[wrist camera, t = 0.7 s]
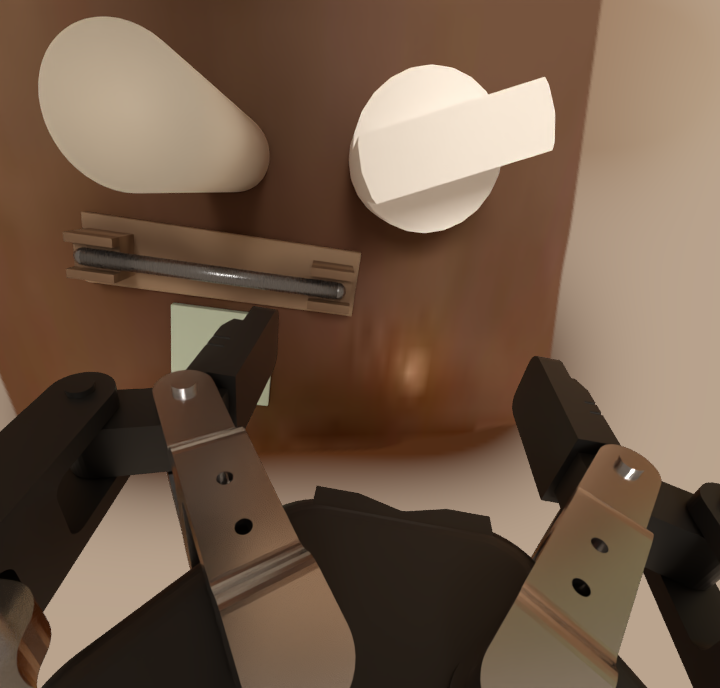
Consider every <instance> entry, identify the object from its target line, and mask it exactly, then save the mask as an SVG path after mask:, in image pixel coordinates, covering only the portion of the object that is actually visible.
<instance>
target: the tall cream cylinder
mask: <svg viewBox="0 0 720 688" xmlns="http://www.w3.org/2000/svg"><path fill="white" fill-rule="evenodd" d="M38 90H39V101H40V107H41V111H42V114H43V118H44V121H45V123H46V126H47V128H48V131H49V133H50V135H51V136H52V138H53V140H54V142H55V143H56V145H57V146H58V148H59V149H60V151H61V152H62V153H63V155H64V156H65V157H66V158H67V159H68V161H69V162H70V163H72V164H73V165H74V166H75V167H76V168H77V169H78V170H79V171H80V172H82V173H83V174H84V175H85V176H87V177H88V178H90V179H92V180H93V181H95V182H97V183H99V184H101V185H103V186H105V187H108V188H110V189H113V190H117V191H121V192H127V193H203V192H242V191H246V190H249V189H251V188H253V187H255V186H256V185H257V184H258V183H259V182H260V181H261V180H262V179H263V178H264V176H265V174H266V172H267V169H268V166H269V160H270V152H269V146H268V142H267V139H266V137H265V135H264V133H263V131H262V130H261V128H260V127H259V126H258V125H257V124H256V123H255V122H254V121H253V120H252V119H251V118H250V117H249V116H247V115H246V114H245V113H244V112H243V111H242V110H241V109H240V108H238V107H237V106H236V105H235V104H234V103H233V102H232V101H230V100H229V99H228V98H227V97H226V96H225V95H224V94H222V93H221V92H220V91H219V90H218V89H217V88H216V87H215V86H213V85H212V84H211V83H210V82H209V81H208V80H207V79H205V78H204V77H203V76H202V75H201V74H200V73H199V72H197V71H196V70H195V69H194V68H193V67H192V66H191V65H190V64H188V63H187V62H186V61H185V60H184V59H183V58H182V57H180V56H179V55H178V54H177V53H176V52H175V51H174V50H173V49H171V48H170V47H169V46H168V45H167V44H166V43H165V42H163V41H162V40H161V39H160V38H158V37H157V36H156V35H155V34H153V33H152V32H150V31H149V30H147V29H145V28H143V27H142V26H140V25H137V24H135V23H133V22H130V21H127V20H124V19H120V18H115V17H92V18H87V19H83V20H80V21H78V22H75V23H73V24H72V25H70V26H68V27H66V28H65V29H64V30H63V31H62V32H60V33H59V34H58V35H57V36H56V38H55V39H54V40H53V41H52V42H51V44H50V46H49V47H48V49H47V51H46V53H45V55H44V58H43V60H42V63H41V68H40V72H39V82H38Z"/></svg>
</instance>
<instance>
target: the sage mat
mask: <svg viewBox="0 0 720 688" xmlns="http://www.w3.org/2000/svg"><path fill="white" fill-rule="evenodd" d="M248 313H249V312H244V311H236V310H228V309H220V308H212V307H205V306H197V305H189V304H181V303H172V304H171V373H172V372H175V371H180V370H186V369H187V368H188V366H189V365H190V364H191V363H192V361H193V360H194V359H195V357H196V356H197V355H198V354H199V352H200V351H201V350H202V349H203V347H204V346H205V345H207V342H208V341H209V340H210V339H211V337H213V335H214V334H215V332H216V331H217V330H218V329H219V327H220V326H221V325H223V324H225V323H227V322H228V321H230V320H232V319H234V318H235V319H240V320H243V319H244V318H245V317H246V315H247V314H248ZM270 381H271V376H270V378H269V380H268V382H267V384H266V386H265V388H264V390H263V393H262V395H261V397H260V399H259V401H258V403H257V405H264V406H268V403H269V392H270Z"/></svg>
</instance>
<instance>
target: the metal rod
mask: <svg viewBox="0 0 720 688" xmlns="http://www.w3.org/2000/svg"><path fill="white" fill-rule="evenodd" d="M73 257H74V259H75V261H76V262H77V263H78V264H80V265H84V266H91V267H99V268H106V269H113V270H121V271H128V272H136V273H143V274H151V275H158V276H165V277H173V278H180V279H188V280H195V281H203V282H210V283H218V284H225V285H232V286H240V287H247V288H255V289H262V290H270V291H277V292H284V293H292V294H299V295H307V296H314V297H322V298H329V299H337V300H338V299H341V298H343V297H344V296H345V293H346V289H345V287H344V285H343V284H341V283H337V282H330V281H323V280H316V279H308V278H301V277H294V276H287V275H280V274H273V273H265V272H258V271H251V270H244V269H237V268H229V267H222V266H215V265H208V264H201V263H194V262H186V261H179V260H172V259H165V258H158V257H150V256H143V255H136V254H129V253H122V252H115V251H107V250H100V249H93V248H86V247H80V248H78V249H76V250H75V251H74V254H73Z"/></svg>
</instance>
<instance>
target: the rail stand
mask: <svg viewBox="0 0 720 688" xmlns="http://www.w3.org/2000/svg"><path fill="white" fill-rule="evenodd" d="M81 219H82V229H78V230H71V231H64V232H63V241H65V242H73V250H74V251H75V250H76V249H78V248H80V247H86V248H93V249H100V250H107V251H115V252H122V253H129V254H136V255H143V256H150V257H158V258H165V259H172V260H179V261H186V262H194V263H201V264H208V265H215V266H222V267H229V268H237V269H244V270H251V271H258V272H265V273H273V274H280V275H287V276H294V277H301V278H308V279H316V280H323V281H330V282H337V283H341V284H343V285H344V287H345V289H346V293H345V296H344V297H343V298H341V299H338V300H337V299H329V298H322V297H314V296H307V295H299V294H292V293H284V292H277V291H270V290H262V289H255V288H247V287H240V286H232V285H225V284H218V283H210V282H203V281H195V280H188V279H180V278H173V277H165V276H158V275H151V274H143V273H136V272H128V271H121V270H113V269H106V268H99V267H91V266H84V265H80V264H78V263H77V262H76V261H75V259H74V261H75V266H74V267H70V268H67V269H66V275H67V278H73V279H81V280H86V282H93V283H100V284H108V285H116V286H123V287H131V288H139V289H146V290H154V291H162V292H169V293H177V294H185V295H192V296H200V297H208V298H215V299H223V300H230V301H238V302H246V303H253V304H261V305H269V306H276V307H284V308H292V309H299V310H307V311H315V312H322V313H330V314H338V315H345V316H352V310H353V304H354V297H355V290H356V284H357V277H358V271H359V264H360V258H361V252H356V251H350V250H343V249H336V248H330V247H323V246H316V245H309V244H303V243H296V242H289V241H282V240H276V239H269V238H262V237H256V236H249V235H242V234H235V233H229V232H222V231H215V230H208V229H202V228H195V227H188V226H181V225H175V224H168V223H161V222H155V221H148V220H141V219H134V218H128V217H121V216H114V215H107V214H101V213H94V212H81Z"/></svg>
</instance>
